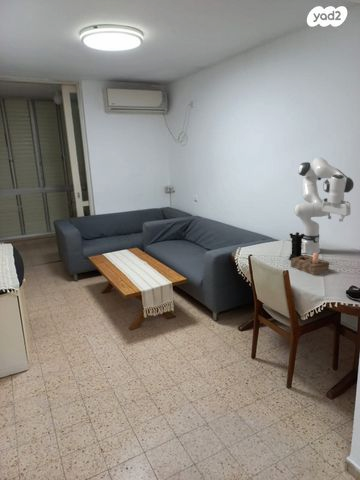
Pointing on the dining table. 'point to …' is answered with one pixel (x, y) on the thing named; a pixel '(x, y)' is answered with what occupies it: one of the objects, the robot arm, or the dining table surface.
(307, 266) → the bore block
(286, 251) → the dining table surface
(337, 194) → the robot arm
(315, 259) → the pin
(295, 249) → the chess piece
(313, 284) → the dining table surface
